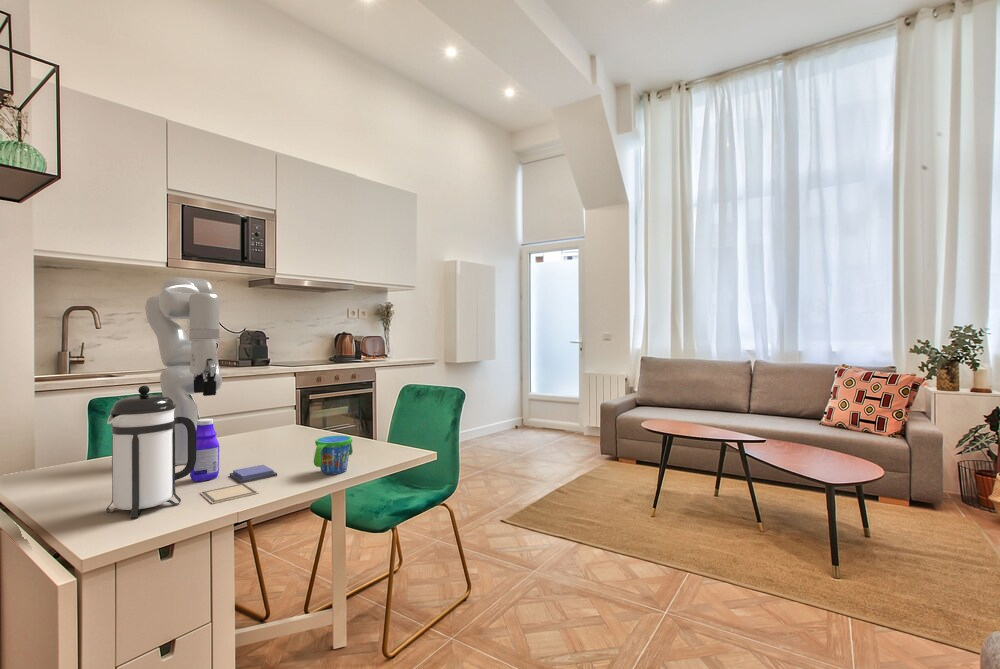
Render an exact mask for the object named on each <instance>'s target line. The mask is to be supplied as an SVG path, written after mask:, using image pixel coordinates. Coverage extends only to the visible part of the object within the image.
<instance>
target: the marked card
mask: <svg viewBox="0 0 1000 669" xmlns="http://www.w3.org/2000/svg"><path fill="white" fill-rule="evenodd" d="M257 494H259V491H257V490H255V489H254V488H252V486H249V485H248V484H246V482H245V483H239V484H234V485H230V486H229V485H228V486H224V487H220V488H214V489H210V490H206V491H201V492H199V495H200V496H202V497H203V498H204V497H205V498H204V499H206V501H208V502H209V503H210V502H211V503H212V504H211V503H210V504H211V505H215V504H217V503H218V502H219V503H223V502H227V501H226V500H228V501H231V499H232V500H236V499H235V498H237V499H239V498H240V497H241V498H245V497H249V496H254V495H257ZM241 498H240V499H241ZM222 501H223V502H222ZM214 503H215V504H214ZM219 503H218V504H219Z"/></svg>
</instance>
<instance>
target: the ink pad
mask: <svg viewBox="0 0 1000 669" xmlns="http://www.w3.org/2000/svg"><path fill="white" fill-rule="evenodd" d="M277 476H278V473H277V472H276V471H275V470H274V469H272V468H270V467H269V466H267V465H265V464H259V465H253V466H248V467H244V468H238V469H234V470H233V471H232V472H229V477H230V478H232V479H234V480H235V481H236V480H237V482H238V483H239V484H243V483H245V484H246V483H250V482H254V481H259V480H263V479H269V478H274V477H277Z"/></svg>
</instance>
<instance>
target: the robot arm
mask: <svg viewBox="0 0 1000 669" xmlns="http://www.w3.org/2000/svg"><path fill="white" fill-rule="evenodd" d="M212 286H213V285H212V284H211V282H210V281H208V280H207V279H203V278H195V277H193V278H192V277H183V276H181V277H180V276H179V277H176V276H175V277H170V278H167V279H165V281H164V282H163V283H162V285H161V291H160V293H159V294H156V295H152V296H150V297H148V298H147V299H146V301H145V305H144V306H145V307H144V308H145V316H146V320H147V322H148V324H149V326H150V327H151V330H152V331H153V333H154V334H155V336H156V339H157V344H158V351H159V356H160V359H161V362H162V364H163V365H164V367H165V369H163V370H162V371H161V373H160V376H159V384H160V389H161V393H162V394H161V395H162V396H167V397H169V398H171V399H172V401H173V403H174V404H176V408H175V410H174V418H176V417H186V418H189V419H190V420H192V421H193V423H194V425H195V428H196V429H197V420H199V409H198V405H197V403H196V401H194V399H192V398H191V397H190V395H194V394H202V396H204V397H208V396H209V397H210V396H216V395H217V392H218V390H220V389H221V386H222V384H223V377H222V372H221V367H220V364H219V361H218V360H219V359H218V353H217V352H218V350H217V348H218V347H217V341H220V298H219V295H218V294H216V293H214V291H213V290H214V289H213V287H212ZM173 319H176V320H178V319H179V320H181V319H182V320H188V325H189V327H188V332H189V333H188V338H187V333H186V331H185V329H184V328H183V327H182V326H181V325H180V324H179V323H177V322H175V321H174V320H173ZM187 461H188V433H187V428H186V426H185V425H184V424H182V423H181V424H175V466H178V465H180V466H181V465H187Z"/></svg>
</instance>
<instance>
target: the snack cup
mask: <svg viewBox="0 0 1000 669" xmlns="http://www.w3.org/2000/svg"><path fill="white" fill-rule="evenodd" d="M314 443H315V446H316V448H315V451H314V456H313V464H314V466H315V467H316V468H320V472H321V473H322V474H325V475H337V474H341V473H344V472H345V471H347V469H348V463H349V459H350V458H349V457H350V456H351V455H352V454H353V445H352V443H353V437H351V436H349V435H348V436H347V435H328V436H327V435H326V436H322V437H318V438H316V439H315V441H314Z"/></svg>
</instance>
